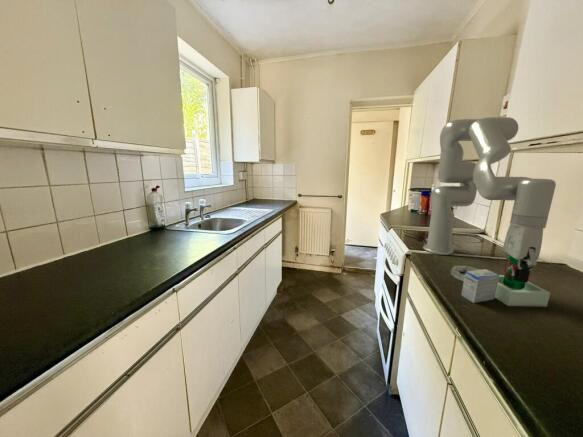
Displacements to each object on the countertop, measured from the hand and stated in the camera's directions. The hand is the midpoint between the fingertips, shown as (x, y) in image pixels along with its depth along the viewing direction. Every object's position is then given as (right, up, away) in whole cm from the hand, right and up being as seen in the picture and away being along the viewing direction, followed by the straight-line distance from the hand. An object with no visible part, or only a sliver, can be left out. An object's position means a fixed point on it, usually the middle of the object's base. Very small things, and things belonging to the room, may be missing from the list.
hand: (515, 276), depth 72 cm
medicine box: (-11, -7, +1) cm, 13 cm away
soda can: (0, -3, +1) cm, 4 cm away
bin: (0, -7, +2) cm, 7 cm away
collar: (-3, -4, +14) cm, 15 cm away
